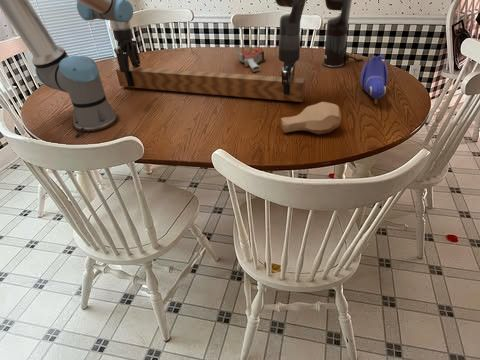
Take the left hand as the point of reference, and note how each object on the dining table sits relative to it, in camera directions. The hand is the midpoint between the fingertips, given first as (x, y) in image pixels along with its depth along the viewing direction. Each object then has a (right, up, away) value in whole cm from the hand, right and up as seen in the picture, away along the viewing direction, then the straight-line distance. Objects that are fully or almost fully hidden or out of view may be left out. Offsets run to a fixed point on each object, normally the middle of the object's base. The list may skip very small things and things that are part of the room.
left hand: (134, 83), depth 159 cm
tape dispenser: (+53, +14, +18) cm, 58 cm away
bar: (+33, -6, -9) cm, 35 cm away
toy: (+99, -11, -20) cm, 102 cm away
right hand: (+66, -9, -21) cm, 70 cm away
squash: (+71, -26, -39) cm, 85 cm away
